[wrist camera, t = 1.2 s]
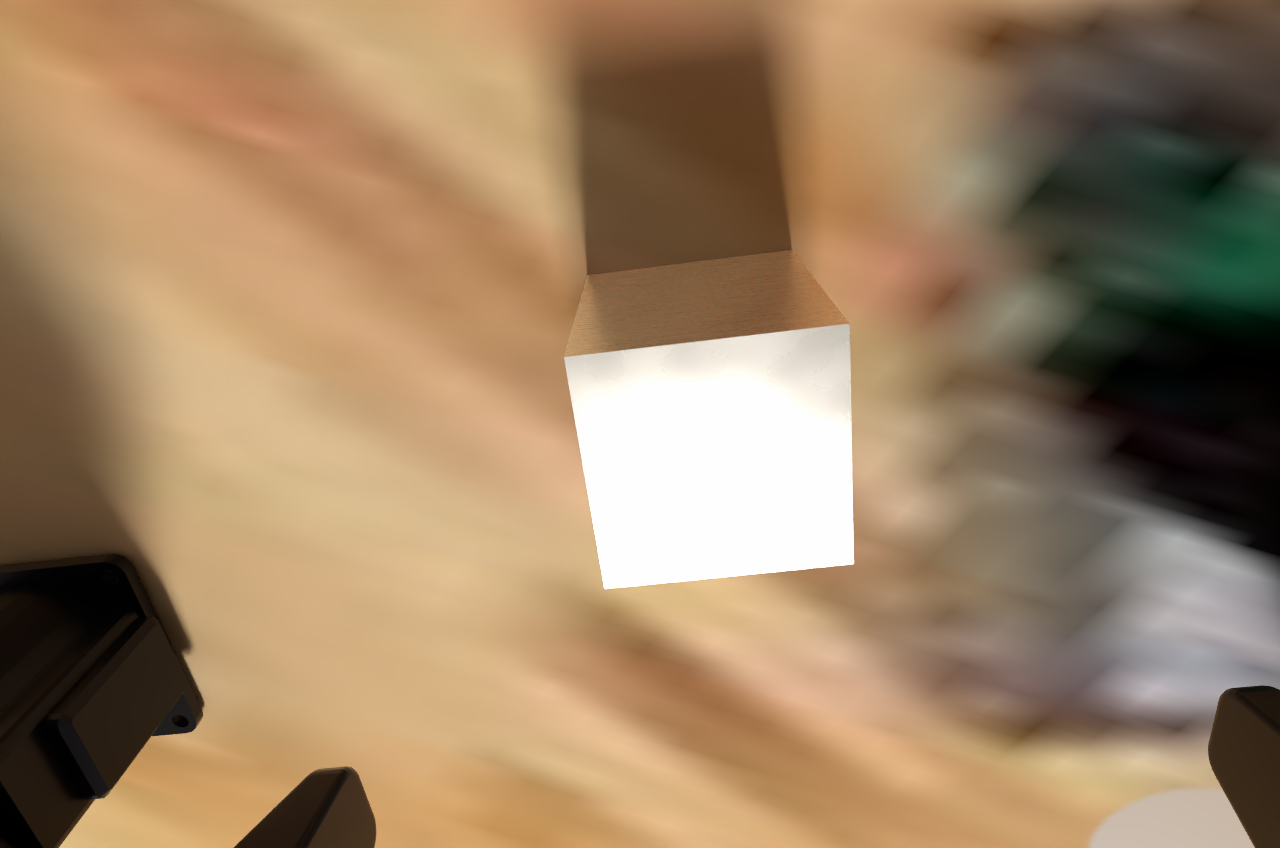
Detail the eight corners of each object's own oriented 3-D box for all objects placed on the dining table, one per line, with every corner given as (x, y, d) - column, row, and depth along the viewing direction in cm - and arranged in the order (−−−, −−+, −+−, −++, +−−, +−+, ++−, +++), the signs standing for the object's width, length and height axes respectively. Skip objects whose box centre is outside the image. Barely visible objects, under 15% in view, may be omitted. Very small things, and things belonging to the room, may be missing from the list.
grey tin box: (615, 454, 21) (604, 588, 16) (587, 274, 19) (563, 357, 14) (800, 434, 21) (853, 563, 16) (791, 249, 19) (849, 323, 14)
